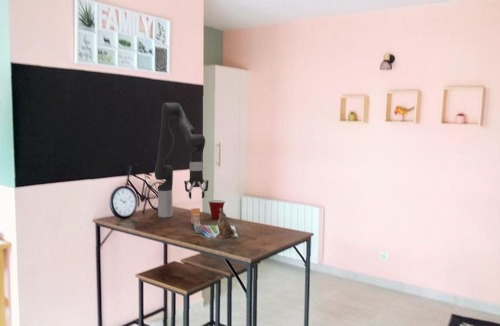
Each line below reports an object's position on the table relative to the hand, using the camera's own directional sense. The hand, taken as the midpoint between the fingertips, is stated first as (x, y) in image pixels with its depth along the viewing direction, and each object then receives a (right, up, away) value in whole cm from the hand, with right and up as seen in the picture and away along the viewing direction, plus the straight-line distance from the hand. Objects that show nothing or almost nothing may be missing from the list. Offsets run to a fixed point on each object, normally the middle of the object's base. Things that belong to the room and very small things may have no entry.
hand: (196, 198), depth 244 cm
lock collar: (-2, -16, +11) cm, 20 cm away
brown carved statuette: (+17, -19, -14) cm, 30 cm away
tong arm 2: (+1, -17, 0) cm, 17 cm away
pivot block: (-2, -17, +12) cm, 20 cm away
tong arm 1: (0, -17, 0) cm, 17 cm away
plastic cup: (+10, -15, +26) cm, 32 cm away
